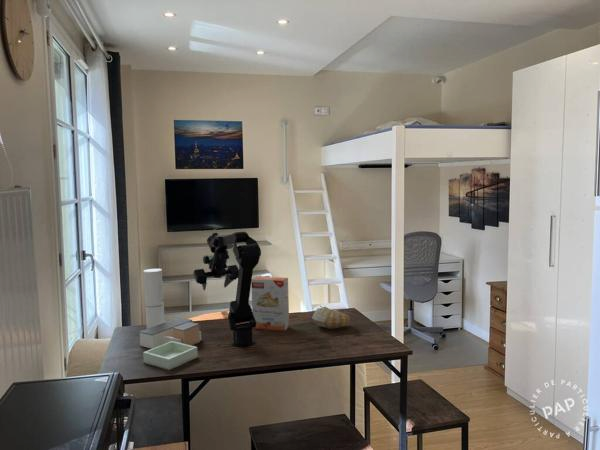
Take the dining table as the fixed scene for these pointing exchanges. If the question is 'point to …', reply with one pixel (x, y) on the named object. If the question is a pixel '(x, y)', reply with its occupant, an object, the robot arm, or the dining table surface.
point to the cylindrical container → (154, 297)
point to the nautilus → (330, 318)
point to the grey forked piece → (161, 333)
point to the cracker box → (270, 303)
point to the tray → (170, 355)
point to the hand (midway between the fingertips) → (214, 288)
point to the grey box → (187, 333)
